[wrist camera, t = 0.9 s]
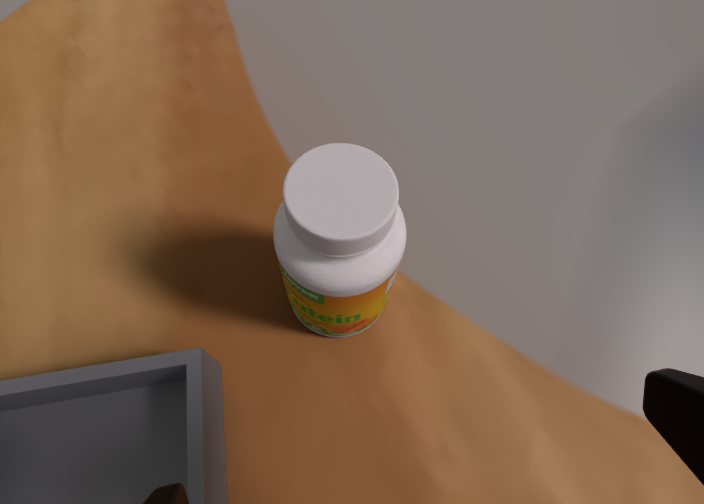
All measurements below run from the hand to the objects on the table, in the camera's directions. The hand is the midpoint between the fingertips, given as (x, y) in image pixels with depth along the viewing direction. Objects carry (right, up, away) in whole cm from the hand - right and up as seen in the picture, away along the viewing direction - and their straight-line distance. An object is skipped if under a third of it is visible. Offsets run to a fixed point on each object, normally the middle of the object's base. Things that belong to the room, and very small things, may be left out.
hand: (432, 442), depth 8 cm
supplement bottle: (-2, +1, +15) cm, 15 cm away
